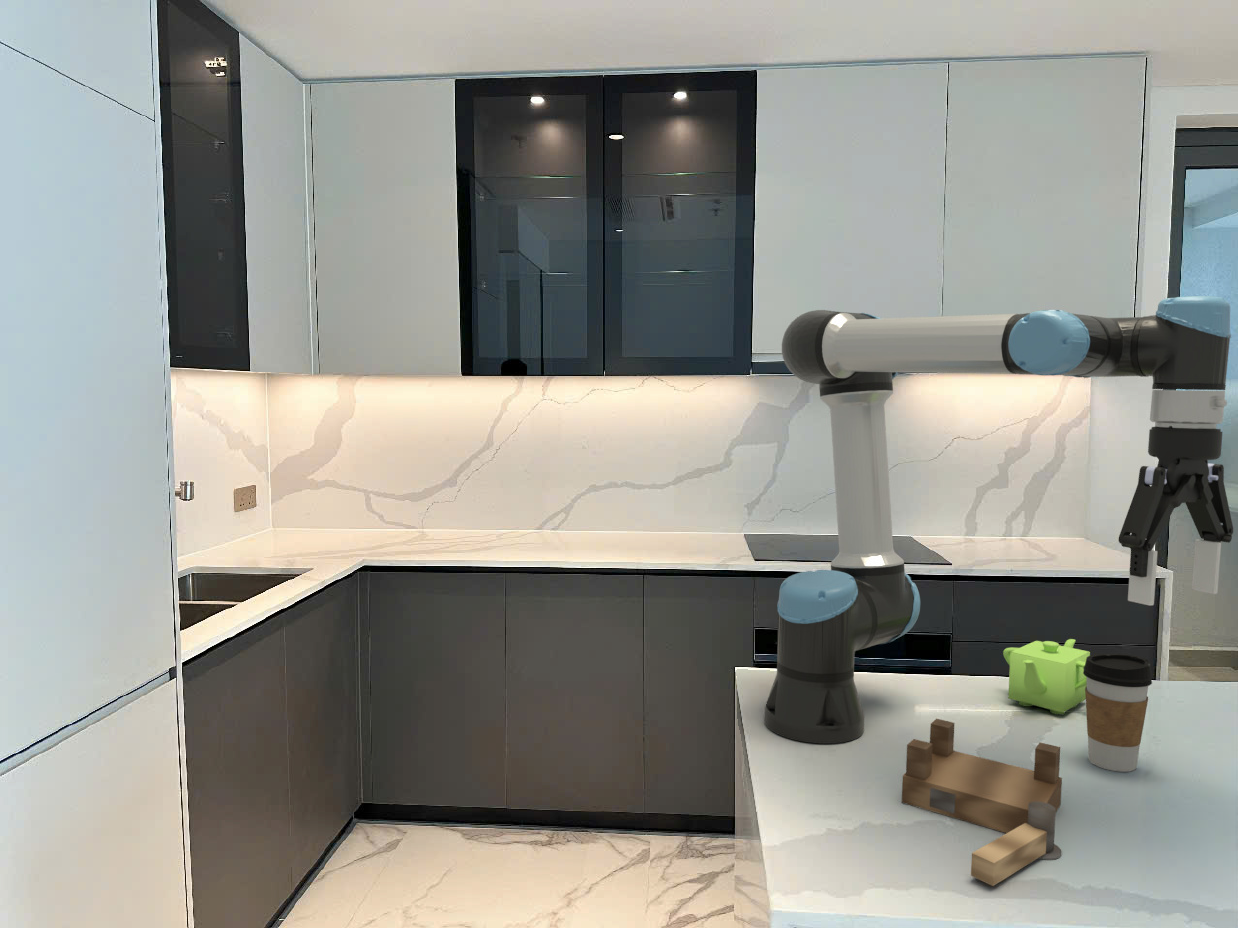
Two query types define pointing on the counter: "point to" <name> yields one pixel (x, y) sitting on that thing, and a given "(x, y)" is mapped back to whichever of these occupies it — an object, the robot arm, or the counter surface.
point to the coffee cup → (1116, 708)
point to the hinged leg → (1016, 846)
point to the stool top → (979, 783)
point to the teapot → (1047, 675)
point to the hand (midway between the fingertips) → (1173, 597)
